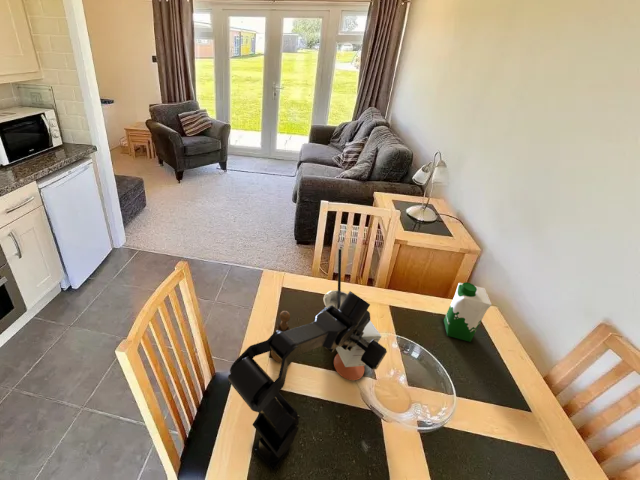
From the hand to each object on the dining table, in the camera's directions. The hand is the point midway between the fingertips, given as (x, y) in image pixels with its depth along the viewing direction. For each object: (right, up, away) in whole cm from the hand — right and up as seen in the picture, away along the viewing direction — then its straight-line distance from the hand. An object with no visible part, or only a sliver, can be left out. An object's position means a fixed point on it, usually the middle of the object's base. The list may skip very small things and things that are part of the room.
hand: (357, 338), depth 93 cm
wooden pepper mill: (-22, -8, +8) cm, 25 cm away
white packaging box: (-2, -7, +2) cm, 7 cm away
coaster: (-1, -10, +5) cm, 11 cm away
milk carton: (+40, -6, +18) cm, 44 cm away
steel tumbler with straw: (-4, -5, +15) cm, 16 cm away
